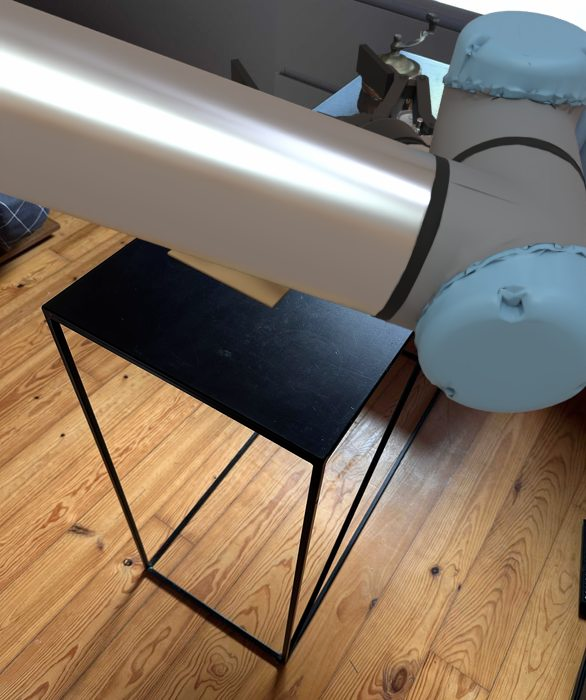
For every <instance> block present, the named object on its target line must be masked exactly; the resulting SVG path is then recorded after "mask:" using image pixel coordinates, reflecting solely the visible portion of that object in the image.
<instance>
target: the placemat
mask: <svg viewBox="0 0 586 700" xmlns="http://www.w3.org/2000/svg"><path fill="white" fill-rule="evenodd" d="M167 256H170V257H171V258H173V259H175V260H177V261H179V262H181V263H183V264H185V265H187V266H189V267H191V268H192V269H194V270H197V271H199V272H201V273H203V274H205V275H207V276H208V277H211V278H213V279H214V280H216V281H218V282H220V283H222V284H223V285H225V286H227V287H230V288H232V289H234V290H236V291H237V292H239V293H242V294H243V295H245V296H247V297H249V298H251V299H253V300H255V301H257V302H259V303H261V304H262V305H265V306H266V307H269V308H270V309H273V308H274V307H275V306H276V305H277V304H278V303H279V302H280V301H281V300H282V299H283V298H284V297H285V296H286V295H287V294H288V293H289V292H290V291H291V289H290V288H287V287H284V286H281V285H278V284H275V283H272V282H269V281H266V280H263V279H260V278H257V277H254V276H251V275H248V274H245V273H241V272H238V271H235V270H232V269H229V268H226V267H223V266H220V265H217V264H214V263H211V262H208V261H205V260H202V259H199V258H196V257H193V256H190V255H187V254H184V253H181V252H178V251H175V250H172V249H170V250H169V251H168V252H167Z"/></svg>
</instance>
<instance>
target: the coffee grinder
mask: <svg viewBox="0 0 586 700" xmlns="http://www.w3.org/2000/svg"><path fill="white" fill-rule="evenodd" d="M425 20H426V21H428V29H423V30H421V31H420V32H419V37H417V38H416V39H413V40H411V41H402V36H403V35H402V34H399V33H398V34H397V33H396V34H394V35H393V41H392V43H390V45H389V48H390V51H388V52H387V53H380V54H377V55H378V56H379V57H380V58H381V59H382V60H383V61H384V62H385V63H386V64H390V65H392V66H393V67H394V68H395V69H396V70H397V71H398V72H399V73H400V74H405V75H408V76H409V79H416V77H417V75H423V72H422V71H423V68H422V67H421V64H420V63H419V62H418V61H416V60H414V59H412V58H410V57H408V56H406V55H404V54H403V53H400V52H401V51H403V50H404V49H408V48H413V47H414V46H417V45H418V44H420V43H421V42H423V41H424V40H425V39H426V37H428V36H433V35H435V33H434V32H435V30H436V27H437V24H438V23H439V22H441V21H442V19H441V18H440V15H439V14H435V13H432V12H426V14H425ZM411 101H412V99H405V101H404V106H403V109H402V108H401V110H400V112H401V111H405V110H412V102H411ZM380 102H383V100H382V99H381V98H380V97H379V96H378V95H377V93H376V92H375V91H374V90H373V89H372V88H371V87H370V86H369V85H368V84H367V83H366V81H365V80H364V79H363V78H362V77H361V87H360V91H359V94H358V98H357V101H356V108H357V110H358V113H363V112H365V113H366V114H372V115H373V113H375V111H376V109H377V107H378V106H379V104H380ZM400 112H399V113H400Z"/></svg>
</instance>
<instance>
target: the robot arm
mask: <svg viewBox="0 0 586 700" xmlns="http://www.w3.org/2000/svg"><path fill="white" fill-rule="evenodd" d="M378 55H379V54H377V53H376V52H375V51H374V50H373V49H372V48H371V47H370V46H369V45H368V44H367V43H362V44H359V45H358V53H357V60H356V67H355V68H356V69H355V72H356V73H357V74H358V75H359V76H360V78H361V79H362V78H363V79H364V80H365V81H366V83H367V84H368V85H369V86H370V87H371V88H372V89H373V90H374V91H375V92H376V93H377V95H378V96H379V97H380V98H381V99H382V100H383V102H380V104H379V106H378V107H377V109H376V111H375V113H373V115H372V114H366V113H365V112H363V113H359V112H357V113H354V114H352V115H338V116H334V115H331V114H328V113H325V112H322V111H319V110H317V111H315V110H313V109H310V108H307V107H305V106H302V105H299V104H296V103H294V102H291V101H288V100H286V99H283V98H280V97H278V96H274V95H272V94H269V93H267V92H264V91H261V90H260V88H259V87H258V86H257V84H256V82H255V81H254V80H253V78H252V77H251V75H250V74H249V72H248V71H247V69H246V68H245V67H244V65H243V63H242V62H241V60H240V59H239V58H234V59H230V79H228V78H226V77H223V76H220V75H218V74H215V73H212V72H209V71H206V70H203V69H201V68H198V67H197V66H196V67H195V66H193V65H190V64H187V63H185V62H182V61H180V60H176V59H174V58H171V57H168V56H165V55H163V54H160V53H157V52H155V51H152V50H149V49H146V48H145V47H144V48H143V47H141V46H138V45H135V44H133V43H130V42H127V41H125V40H122V39H119V38H117V37H113V36H111V35H108V34H106V33H103V32H100V31H98V30H97V31H96V30H94V29H91V28H89V27H86V26H83V25H81V24H78V23H76V22H74V21H73V22H72V21H70V20H67V19H64V18H62V17H59V16H57V15H53V14H50V13H48V12H45V11H43V10H41V9H37V8H34V7H32V6H29V5H26V4H24V3H20V2H18V1H15V0H0V194H2V195H3V194H4V195H6V196H9V197H12V198H14V199H19V200H21V201H24V202H27V203H31V204H34V205H36V206H39V207H42V208H46V209H48V210H52V211H53V212H54V211H55V212H57V213H60V214H64V215H67V216H69V217H72V218H76V219H79V220H82V221H84V222H88V223H90V224H93V225H96V226H99V227H103V228H105V229H108V230H112V231H115V232H119V233H120V234H123V235H127V236H129V237H133V238H136V239H139V240H142V241H145V242H147V243H148V242H149V243H151V244H154V245H157V246H160V247H164V248H167V249H170V250H175V251H178V252H181V253H184V254H187V255H190V256H193V257H196V258H199V259H202V260H205V261H208V262H211V263H214V264H217V265H220V266H223V267H226V268H229V269H232V270H235V271H238V272H241V273H245V274H248V275H251V276H254V277H257V278H260V279H263V280H266V281H269V282H272V283H275V284H278V285H281V286H284V287H287V288H290V290H293V291H296V292H299V293H302V294H304V295H305V294H306V295H308V296H310V297H314V298H317V299H320V300H323V301H326V302H329V303H333V304H334V305H335V304H336V305H338V306H341V307H345V308H348V309H351V310H352V311H353V310H354V311H357V312H358V313H362V314H365V315H369V316H370V317H372V318H375V319H378V320H381V321H384V322H385V323H388V324H391V325H394V326H397V327H399V328H400V327H401V328H403V329H406V330H409V331H412V332H414V335H415V336H414V340H413V342H414V346H415V347H416V350H417V357H418V363H419V366H420V368H421V371H422V373H423V374H424V376H425V378H426V379H427V380H428V381H429V382H430V383H431V385H433V386H436V387H437V388H439V389H440V390H441V391H443V392H444V394H445V396H446V398H448V399H450V400H452V401H454V402H456V404H457V403H458V404H460V405H462V406H464V407H467V408H471V409H473V410H474V409H475V410H478V411H482V412H483V411H484V412H491V413H502V414H516V413H525V412H527V413H528V412H533V411H538V410H543V409H547V408H549V407H553V406H556V405H558V404H560V403H563V402H565V401H567V400H569V399H572V398H573V397H575V396H576V395H577V394H579V393H580V392H581V391H582V390H583V389H584V388H585V387H586V180H585V175H584V170H583V165H582V160H581V154H580V150H579V149H580V148H579V144H578V141H577V136H576V129H577V124H578V121H579V119H580V117H581V115H582V113H583V111H584V110H585V108H586V30H584V29H583V28H582V27H579V26H578V25H576V24H574V23H572V22H569V21H567V20H564V19H561V18H559V17H556V16H553V15H549V14H544V13H541V12H540V13H539V12H533V11H526V10H525V11H524V10H500V11H493V12H489V13H485V14H482V15H480V16H478V17H476V18H473V19H472V20H471V21H469V22H468V23H466V25H465V26H464V27H463V28H462V29H461V31H460V33H459V35H458V36H457V40H456V43H455V47H454V51H453V53H452V56H451V60H450V64H449V67H448V70H447V73H446V74H444V76H442V82H441V83H442V84H443V89H442V93H441V98H440V102H439V106H438V111H437V114H436V117H435V116H434V115H433V107H432V98H431V97H432V95H431V87H430V77H429V76H428V75H426V74H422V75H417V77H416V79H409V76H408V75H405V74H400V73H399V72H398V71H397V70H396V69H395V68H394V67H393V66H392V65H390V64H386V63H385V62H384V61H383V60H382V59H381V58H380V57H379V56H378ZM405 99H412V101H411V102H412V123H413V125H412V127H411V126H409V125H408V124H407V123H405V122H404V121H401V120H399V119H396V118H397V116H398V114H399V112H400V110H401V108H402V109H403V106H404V101H405Z"/></svg>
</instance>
